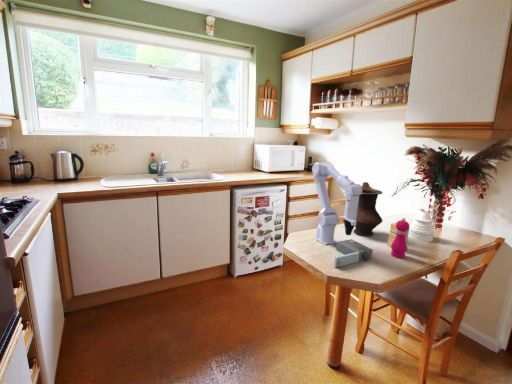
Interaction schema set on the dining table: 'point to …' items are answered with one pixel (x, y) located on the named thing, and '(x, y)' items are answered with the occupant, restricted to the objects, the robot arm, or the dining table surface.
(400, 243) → the pepper mill
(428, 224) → the honey pot
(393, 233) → the supplement box
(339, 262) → the side door
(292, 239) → the dining table surface
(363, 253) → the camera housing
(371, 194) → the jug
